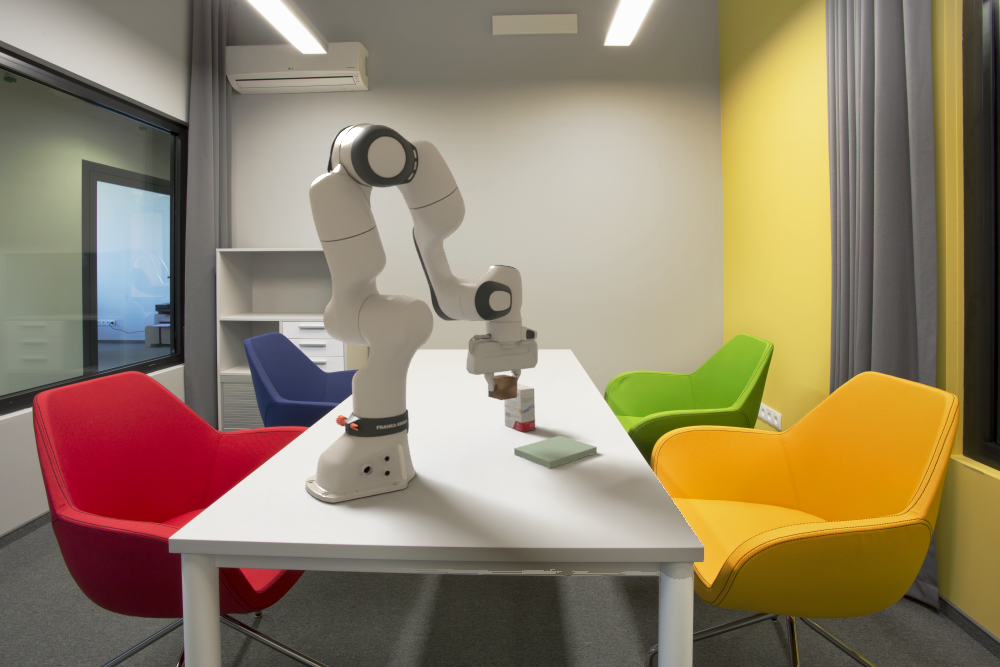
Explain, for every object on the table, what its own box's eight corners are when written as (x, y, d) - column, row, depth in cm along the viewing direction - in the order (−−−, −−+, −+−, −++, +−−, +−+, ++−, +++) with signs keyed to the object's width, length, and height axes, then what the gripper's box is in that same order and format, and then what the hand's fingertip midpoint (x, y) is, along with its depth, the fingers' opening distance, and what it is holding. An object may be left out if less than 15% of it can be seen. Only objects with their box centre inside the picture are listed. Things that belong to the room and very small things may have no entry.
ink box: (535, 429, 150) (536, 388, 149) (521, 432, 147) (521, 390, 146) (517, 422, 157) (517, 382, 156) (503, 425, 154) (503, 384, 153)
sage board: (549, 468, 121) (549, 461, 120) (514, 454, 130) (514, 448, 130) (596, 453, 131) (596, 447, 131) (560, 441, 140) (560, 435, 140)
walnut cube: (501, 400, 129) (501, 379, 128) (488, 396, 133) (488, 376, 132) (517, 397, 132) (517, 377, 132) (503, 394, 136) (504, 374, 135)
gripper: (477, 336, 122) (477, 396, 123) (542, 331, 135) (541, 386, 136) (461, 334, 127) (460, 392, 128) (525, 330, 140) (524, 382, 141)
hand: (502, 389), depth 132 cm, fingers closed on walnut cube, 5 cm apart
